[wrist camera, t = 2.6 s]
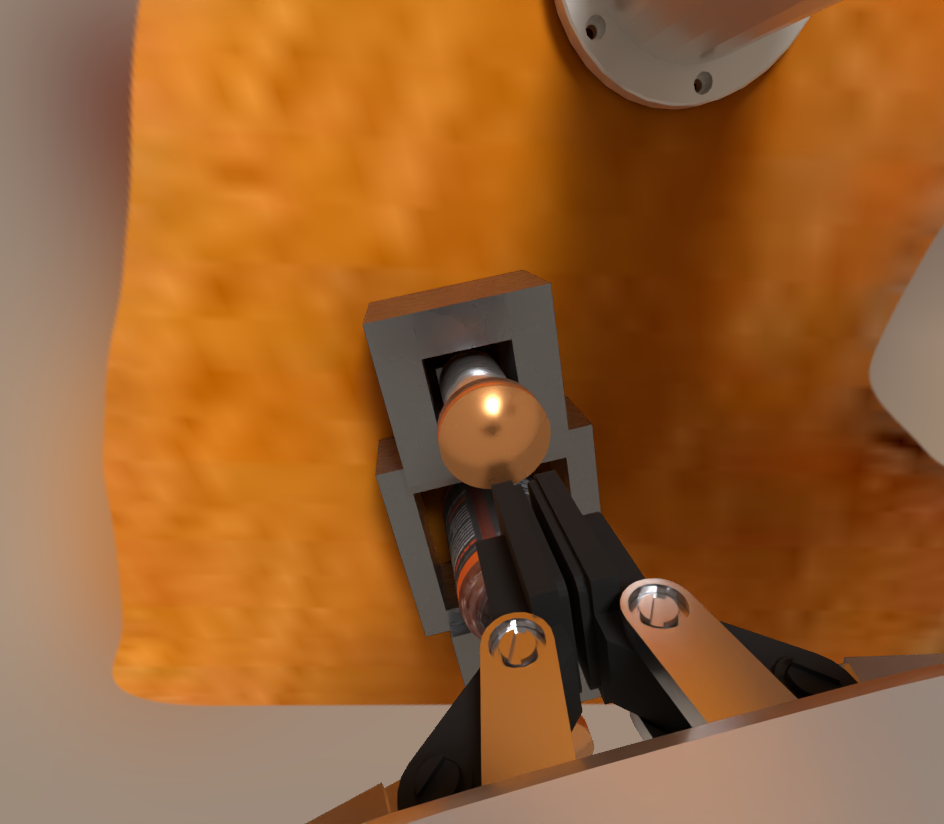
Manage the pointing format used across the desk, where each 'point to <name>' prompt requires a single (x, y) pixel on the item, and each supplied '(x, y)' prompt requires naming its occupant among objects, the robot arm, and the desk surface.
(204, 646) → the desk surface
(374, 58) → the desk surface
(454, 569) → the supplement bottle
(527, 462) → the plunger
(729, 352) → the desk surface
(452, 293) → the housing
